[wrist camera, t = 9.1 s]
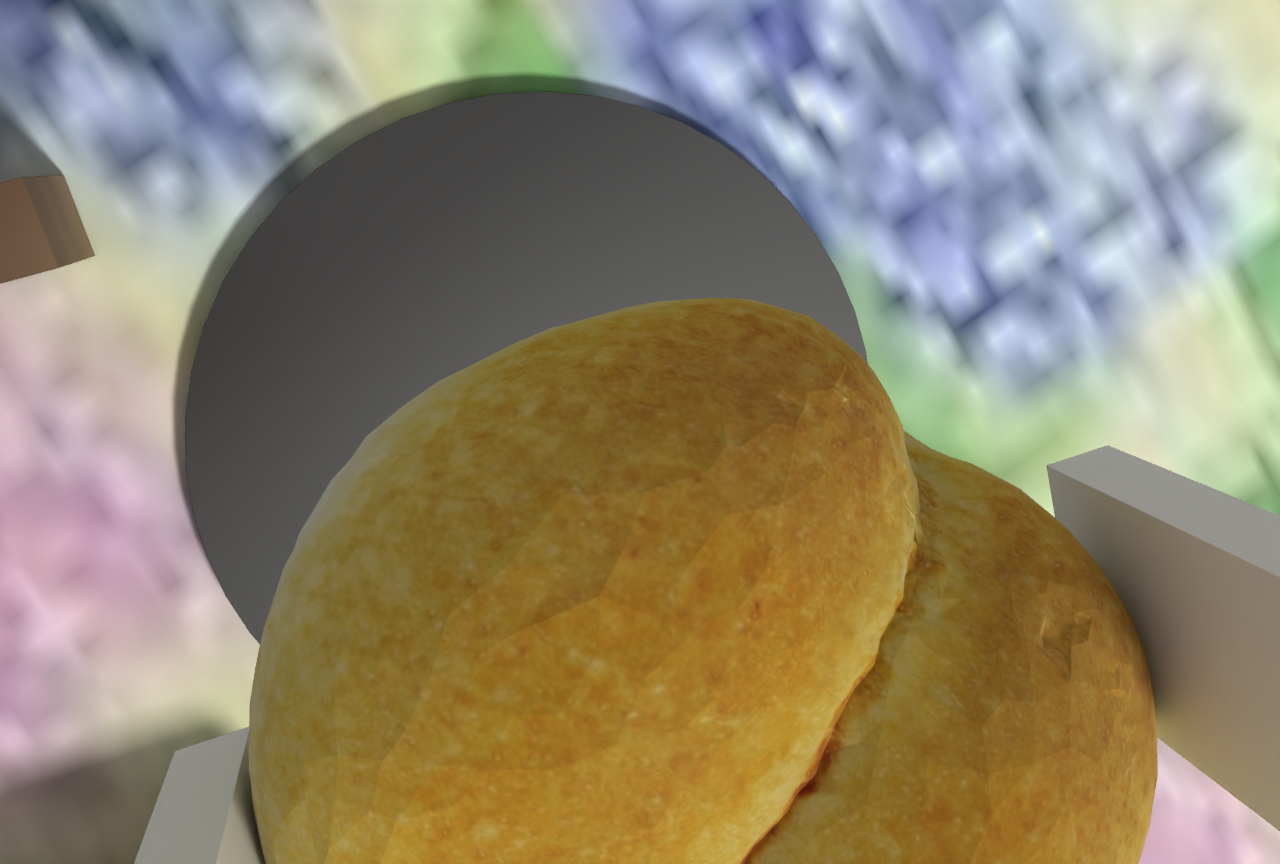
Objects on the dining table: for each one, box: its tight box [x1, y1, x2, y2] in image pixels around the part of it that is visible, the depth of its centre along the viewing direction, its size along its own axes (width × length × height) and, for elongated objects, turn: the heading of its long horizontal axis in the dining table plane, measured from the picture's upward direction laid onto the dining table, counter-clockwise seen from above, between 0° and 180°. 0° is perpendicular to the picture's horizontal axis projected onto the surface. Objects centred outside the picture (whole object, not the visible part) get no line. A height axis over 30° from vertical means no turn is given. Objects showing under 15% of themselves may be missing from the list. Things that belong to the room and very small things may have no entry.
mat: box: [185, 92, 868, 644], centre depth 24 cm, size 14×14×1 cm
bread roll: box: [249, 298, 1157, 864], centre depth 11 cm, size 8×9×4 cm
